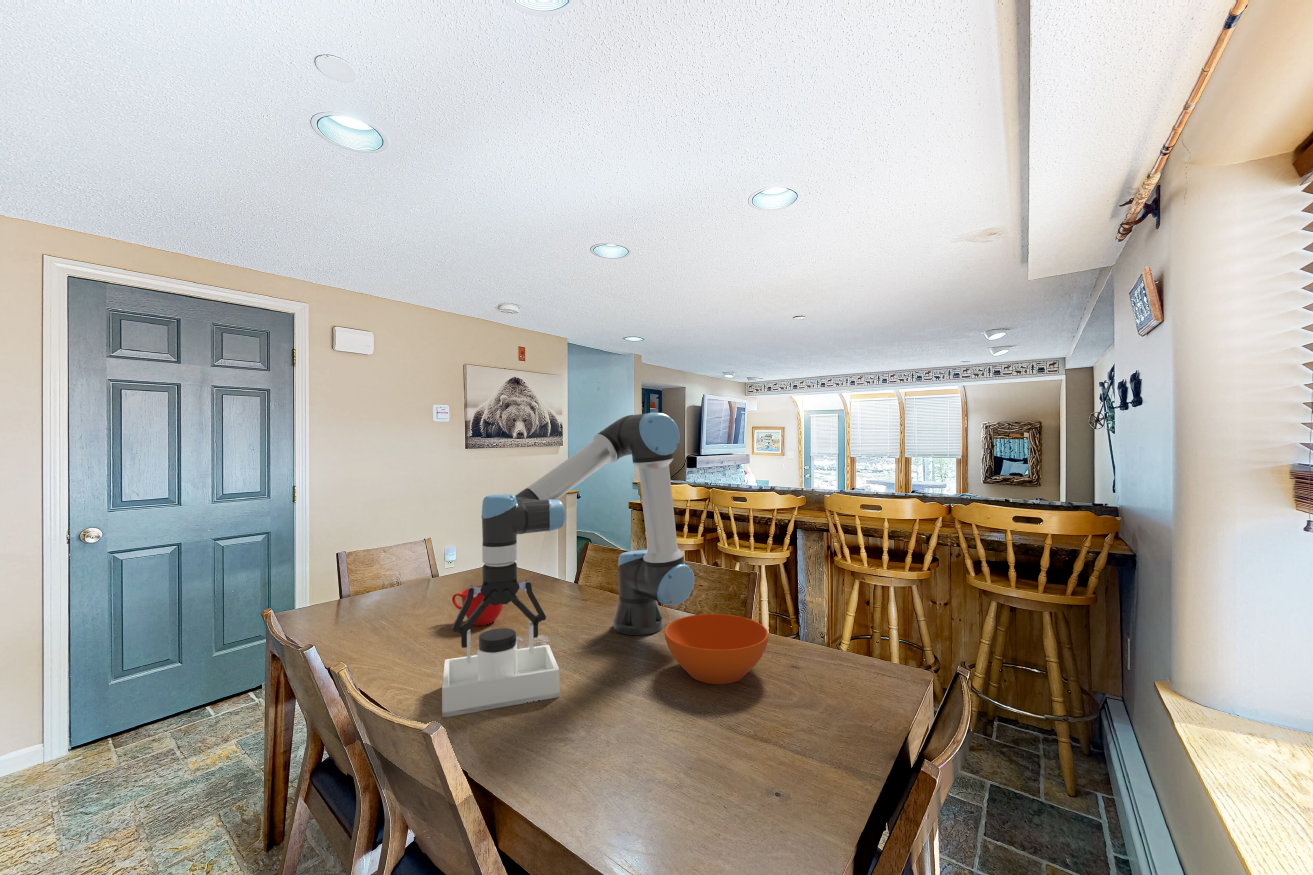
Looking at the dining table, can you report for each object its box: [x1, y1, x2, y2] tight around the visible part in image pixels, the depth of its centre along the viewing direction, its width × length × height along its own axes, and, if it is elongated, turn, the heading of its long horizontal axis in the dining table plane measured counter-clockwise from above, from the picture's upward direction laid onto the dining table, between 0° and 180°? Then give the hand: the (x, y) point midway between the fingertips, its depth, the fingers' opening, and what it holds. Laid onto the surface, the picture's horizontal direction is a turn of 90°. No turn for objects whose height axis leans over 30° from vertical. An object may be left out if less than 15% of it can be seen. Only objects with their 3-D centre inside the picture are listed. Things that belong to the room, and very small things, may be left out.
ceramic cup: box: [451, 585, 504, 626], centre depth 165 cm, size 13×17×10 cm
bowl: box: [664, 613, 769, 685], centre depth 126 cm, size 25×25×10 cm
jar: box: [477, 627, 518, 681], centre depth 117 cm, size 9×8×12 cm
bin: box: [441, 644, 561, 719], centre depth 117 cm, size 24×16×6 cm, turn 110°
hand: (500, 656), depth 118 cm, fingers open, 13 cm apart
